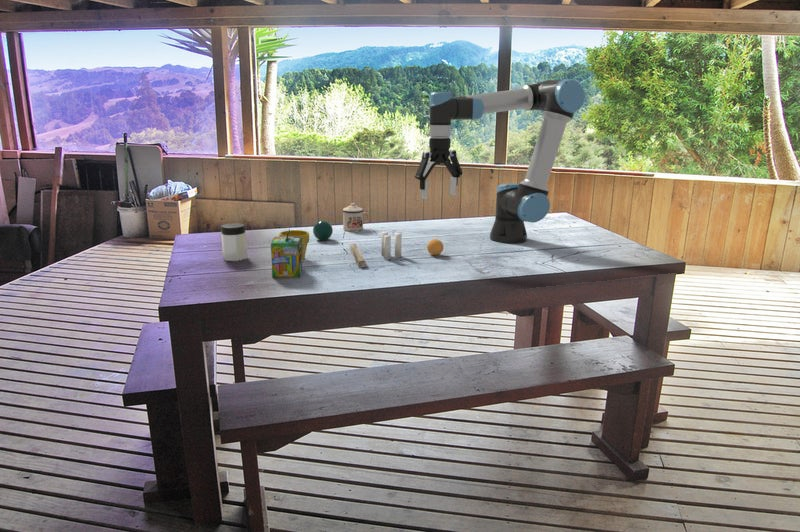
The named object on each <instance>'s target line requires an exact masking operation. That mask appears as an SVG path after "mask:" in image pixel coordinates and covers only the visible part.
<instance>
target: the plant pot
mask: <svg viewBox="0 0 800 532" xmlns="http://www.w3.org/2000/svg"><path fill="white" fill-rule="evenodd" d="M287 233H288V230H283V231H280V232H279V233H278V234H279V235H278V237H287ZM288 237H302V260H303V261H304V260H305V258H306V252H307V247H308V244H309V243H310V232H308V231H306V230H301V229H290V231H289V236H288Z"/></svg>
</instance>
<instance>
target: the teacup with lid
mask: <svg viewBox="0 0 800 532" xmlns="http://www.w3.org/2000/svg"><path fill="white" fill-rule="evenodd" d="M342 215H343V216H342V217H343V218H342V219H343V223H342V224H343V226H342V227H343V230H344V231H345V230H347V231H346V232H360V231H359V230H361V231H363V230H362V229H364V224H367V223H368V222H369V219H370V214H369V213H368V212H364V209H363V207H360V206H358V205H356V203H355V202H351V203H350V205H348V206H345V207H343V209H342ZM364 215H366V216H367V219H366V220H365V221H364Z"/></svg>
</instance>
